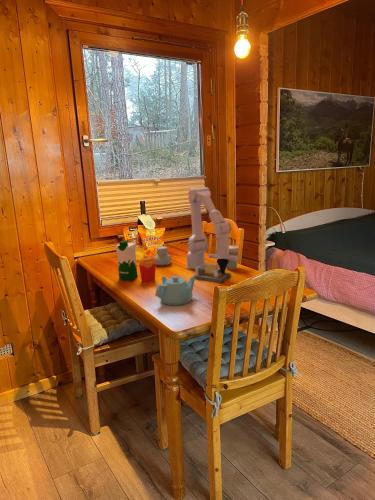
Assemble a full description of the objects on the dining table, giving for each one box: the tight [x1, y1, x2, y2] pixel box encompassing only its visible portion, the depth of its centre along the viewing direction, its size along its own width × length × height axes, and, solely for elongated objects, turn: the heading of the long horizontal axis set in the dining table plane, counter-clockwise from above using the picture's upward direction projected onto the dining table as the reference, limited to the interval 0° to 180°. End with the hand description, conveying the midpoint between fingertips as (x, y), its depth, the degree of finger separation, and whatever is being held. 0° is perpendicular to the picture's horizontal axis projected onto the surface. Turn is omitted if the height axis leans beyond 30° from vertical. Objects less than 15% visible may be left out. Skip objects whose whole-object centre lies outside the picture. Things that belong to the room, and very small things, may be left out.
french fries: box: [138, 256, 157, 284], centre depth 182 cm, size 8×4×12 cm, turn 111°
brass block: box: [205, 261, 219, 277], centre depth 184 cm, size 6×4×6 cm, turn 61°
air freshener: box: [154, 246, 172, 267], centre depth 209 cm, size 11×8×10 cm
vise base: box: [192, 262, 232, 284], centre depth 184 cm, size 16×11×6 cm
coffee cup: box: [226, 244, 240, 271], centre depth 197 cm, size 8×8×12 cm
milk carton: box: [115, 240, 138, 282], centre depth 186 cm, size 9×9×20 cm
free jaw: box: [214, 267, 223, 278], centre depth 182 cm, size 2×8×4 cm, turn 151°
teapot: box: [154, 275, 196, 307], centre depth 157 cm, size 15×15×11 cm
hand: (223, 273), depth 181 cm, fingers closed
